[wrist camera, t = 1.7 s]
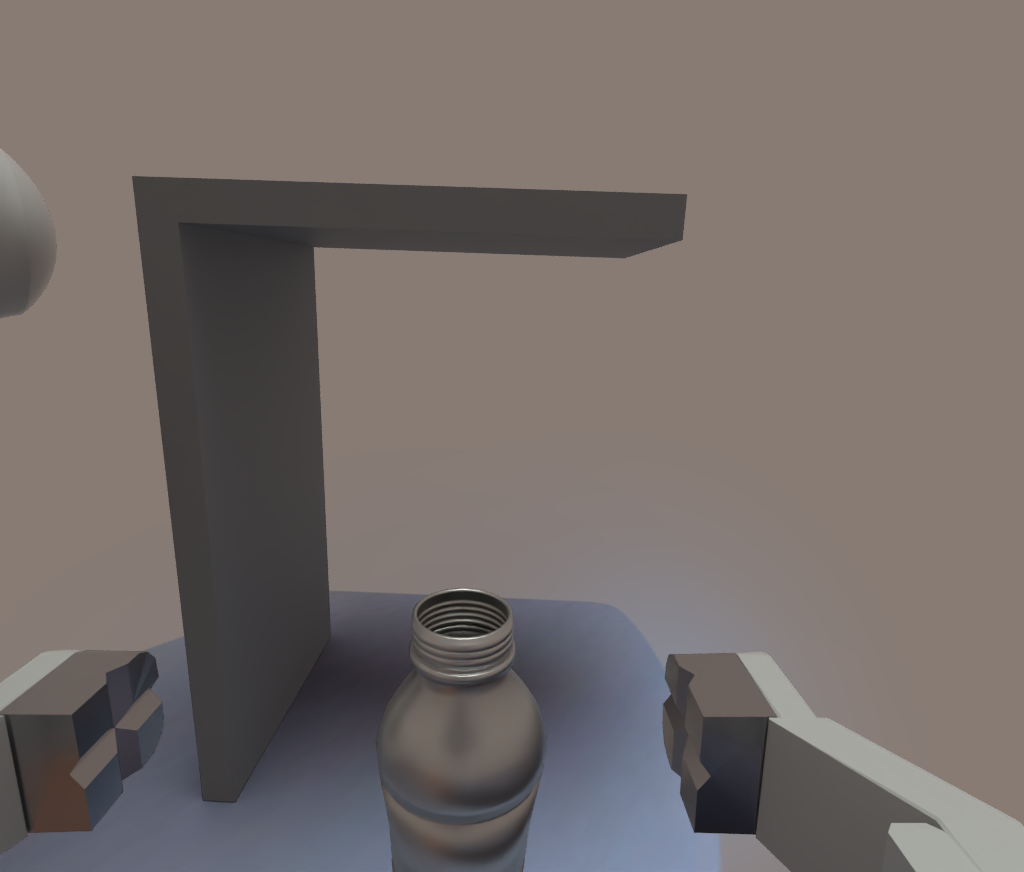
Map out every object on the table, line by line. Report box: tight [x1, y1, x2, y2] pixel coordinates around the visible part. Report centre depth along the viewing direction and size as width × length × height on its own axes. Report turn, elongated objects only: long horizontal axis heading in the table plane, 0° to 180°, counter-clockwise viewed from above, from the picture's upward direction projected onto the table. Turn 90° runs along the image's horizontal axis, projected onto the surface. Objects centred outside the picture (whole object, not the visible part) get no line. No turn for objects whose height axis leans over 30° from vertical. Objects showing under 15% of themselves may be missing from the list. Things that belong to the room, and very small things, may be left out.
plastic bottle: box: [376, 588, 547, 872], centre depth 24 cm, size 6×7×20 cm
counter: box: [132, 176, 687, 802], centre depth 41 cm, size 26×18×36 cm
